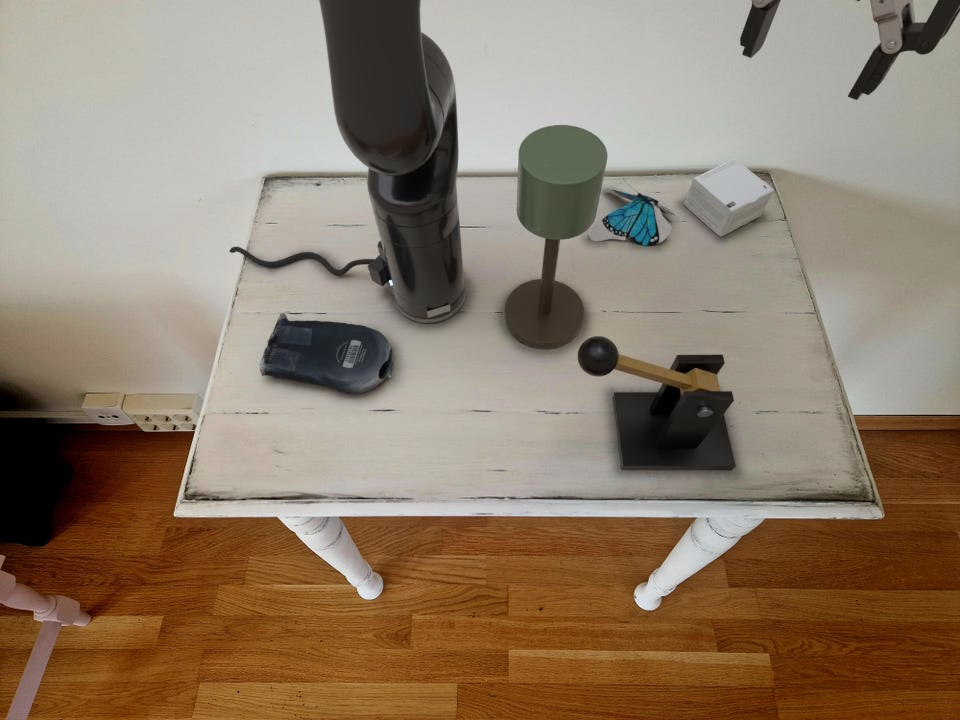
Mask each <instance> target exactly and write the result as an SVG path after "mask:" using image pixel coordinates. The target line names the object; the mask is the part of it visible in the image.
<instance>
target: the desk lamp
mask: <svg viewBox="0 0 960 720" xmlns="http://www.w3.org/2000/svg"><path fill="white" fill-rule="evenodd" d="M517 156H518V159H517V183H516V188H517V189H516V210H515V211H516V216H517V219H518V221H519V223H520V224H521V226H522V227H524V229H526V230H527V231H528V232H529V233H531V234H533V235H535V236H537V237H539V238H541V239H542V238H543V239H544V246H543V248H544V249H543V256H542V267H541V275H540V278H538V279H537V278H536V279H531V280H527V281H525V282H523V283H521V284H519V285H518V286H517V287H515V288H514V289H513V290H512V291H511V292H510V294H509V295H508V296H507V298H506V301H505V304H504V323H505V326H506V328H507V330H508V332H509V334H510V335H511V336H512V337H513V338H514V339H515V340H516V341H518V342H519V343H520V344H522V345H524V346H526V347H529V348H532V349H537V350H545V351H546V350H554V349H558V348H561V347H563V346H566V345H568V344H569V343H571V342H572V341H573V340H575V338H576V337H578V334H579V333H580V331H581V329H582V326H583V322H584V317H585V308H584V307H585V306H584V303H583V301H582V299H581V297H580V296H579V294H578V293H577V291H575V289H573V288H572V287H570V286H569V285H567V284H565V283H564V282H561V281H558V280H556V274H557V267H558V259H559V251H560V246H561V245H560V243H561V240H569V239H573V238H576V237H579V236H581V235H583V234H584V233H586V232H587V231H588V230H589V229H590V228H592V226H593V224H594V223H595V220H596V217H597V212H598V208H599V204H600V198H601V193H602V189H603V182H604V177H605V174H606V167H607V164H608V157H609V156H608V150H607V147H606V145H605V143H604V142H603V141H602V140H601V139H600V137H598V136H597V135H596V134H595V133H593V132H591V131H589V130H587V129H585V128H582V127H579V126H575V125H569V124H554V125H547V126H544V127H540V128H537V129H536V130H534V131H532V132H531V133H529V134H528V135H527V136H526V137H525V138H524V139H523V140H522V142H521V143H520V145H519V148H518V155H517Z"/></svg>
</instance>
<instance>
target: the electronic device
mask: <svg viewBox="0 0 960 720" xmlns="http://www.w3.org/2000/svg"><path fill="white" fill-rule="evenodd" d="M393 354H394V353H393V348H392V346H391V344H390V341H389V340H388V339H387V337H386V336H385V335H384V334H383V333H381V332H380V331H379V330H377V329H373V328H371V327H369V326H365V325H362V324H355V323H347V322H341V321H324V320H322V321H321V320H289V319H288V317H287V314H285V313H283V312H281V313H279V316H278V319H277V321H276V323H275V325H274V329H273V331H272V332H271V334H270V335H269V338H268V339H267V346H266V347H265V349H264V351H263V353H262V357H261V359H260V363H259V372H260V374H261V377H264V376H265V377H266V376H267V377H268V376H269V377H274V378H279V379H282V380H283V379H284V380H289V381H295V382H299V383H305V384H311V385H317V386H322V387H326V388H330V389H333V390H335V391H338V393H345V394H349V395H356V394H357V395H358V394H362V393H365V392H369V391H371V390H373V389H374V388H376V387H377V386H378V385H380V384H381V383H382V382H383V381H384V380H385V379H386V378H389V379H391V378H392V374H391V373H392V372H391V371H392V368H393V361H394V355H393Z"/></svg>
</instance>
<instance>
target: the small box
mask: <svg viewBox="0 0 960 720" xmlns="http://www.w3.org/2000/svg"><path fill="white" fill-rule="evenodd" d="M774 192H775V189H773V187H772V186H770V185H769V184H768V183H766V182H765V181H764V180H763V179H762V178H760V177H759V176H758V175H756V174H755V173H754V172H752V171H751V170H750V169H749V168H747V167H746V166H745V165H744V164H743V163H742V162H740V161H738V160H737V159H736V158H735V157H734V158H731V159H729V160H727V161H725V162H724V163H721V164H719V165H717V166H716V167H714V168H711V169H709V170H707V171H705V172H703V173H701V174H699V175H697V176H694V177H693V178H692V181H691V184H690V187H689V189H688V192H687V195H686V197H685V201H684V203H683V205H684V206H685V207H686V208H687V209H688V210H689V211H690V212H691V213H693V214H694V215H695V217H697V218H698V219H699V220H700V221H701V222H703V223H704V225H706V226H707V227H708V228H709V229H711V231H712V232H714V233H715V235H717V236H718V237H720V238H722V237H723V236H725V235H727V234H730V233H731V232H733V231H735V230H736V229H739V228H740V227H743V226H744V225H747V224H749V223H750V222H752V221H755V220H756V219H758V218H759V217H761V216H762V215H763V213H764V210H765V209H766V207H767V205H768V203H769V201H770V200H771V197H772V196H773V194H774Z"/></svg>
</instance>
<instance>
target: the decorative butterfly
mask: <svg viewBox="0 0 960 720" xmlns="http://www.w3.org/2000/svg"><path fill="white" fill-rule="evenodd" d="M622 180H624V182H626V181H625V179H624V177H623V178H622ZM628 186H629V187H630V188H632V186H630V184H628ZM604 190H605V191H606V192H608V193H610V194H612V195H614V196H617V197H621V198H624V199H626V200H629V201H631V202H629V203H627V204H626V205H624V206H622V207H619V208H618V209H615V210H613V211H611V212H610V213H608V214H607V215H605V216H604V217H603V218H602V219H600V220H599V221H598V222H597V223H596V224H595V225H594V226H593V227H591V229H590V230H589V233H588V238H589V240H590V241H592V242H602V241H606V240H620V241H627V240H628V239H630V240H631V241H632V242H633V243H634V244H637V245H639V246H645V247H653V246H656V245H658V244H660V243H662V242H664V241H665V240H666V239H667V238H668V237H669V235H671V232H672V224H671V222H669V221H668V220H667V219H666V218H665V217H664V215H663V214H665V215H669V216H676V214H675V213H673V212H671V211H673V208H671V207H669V206H668V205H666V204H665V203H663V202H661V201H659V200H658V199H655V198H653V197H651V196H648V195H645V194H642V193H641V192H637V194H631V193H628V192H624V191H621V190H616V189H609V188H605V189H604ZM633 190H634V191H636V189H634V188H633Z"/></svg>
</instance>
